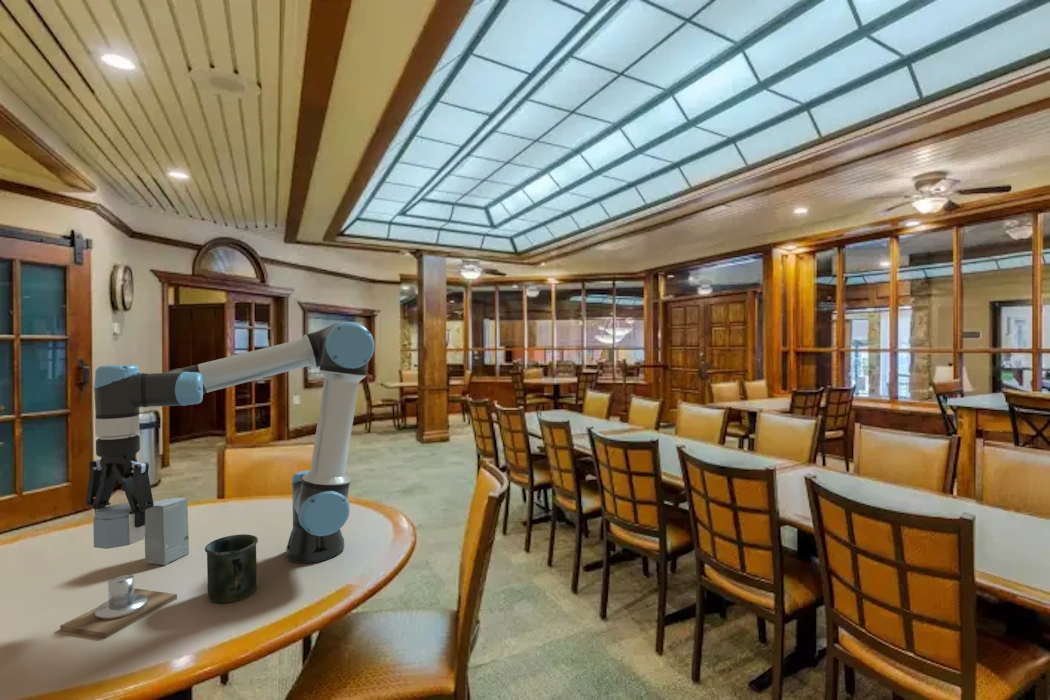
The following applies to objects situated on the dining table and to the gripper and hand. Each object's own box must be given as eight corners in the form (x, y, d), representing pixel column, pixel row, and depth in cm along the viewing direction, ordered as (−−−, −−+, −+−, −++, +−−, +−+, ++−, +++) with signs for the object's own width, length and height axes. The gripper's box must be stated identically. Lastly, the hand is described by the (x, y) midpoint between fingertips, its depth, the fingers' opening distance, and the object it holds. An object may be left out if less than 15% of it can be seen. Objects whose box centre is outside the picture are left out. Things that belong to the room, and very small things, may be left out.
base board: (177, 598, 118) (176, 594, 118) (105, 638, 103) (105, 633, 103) (135, 592, 121) (135, 588, 121) (60, 630, 106) (60, 625, 106)
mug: (253, 577, 129) (252, 530, 128) (267, 601, 117) (266, 549, 117) (202, 591, 122) (201, 541, 121) (211, 617, 110) (210, 562, 110)
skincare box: (164, 566, 135) (163, 506, 135) (142, 564, 137) (140, 505, 136) (191, 553, 144) (190, 497, 143) (170, 551, 145) (168, 495, 145)
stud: (157, 601, 115) (157, 572, 115) (117, 622, 107) (116, 591, 106) (126, 596, 117) (125, 568, 117) (84, 617, 109) (83, 587, 109)
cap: (153, 535, 115) (153, 504, 115) (115, 550, 107) (115, 516, 107) (124, 531, 117) (123, 501, 117) (84, 546, 109) (84, 513, 109)
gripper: (173, 434, 112) (175, 537, 113) (98, 430, 117) (100, 529, 118) (140, 441, 105) (142, 551, 106) (62, 437, 110) (64, 541, 111)
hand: (120, 539), depth 112 cm, fingers closed on cap, 8 cm apart
